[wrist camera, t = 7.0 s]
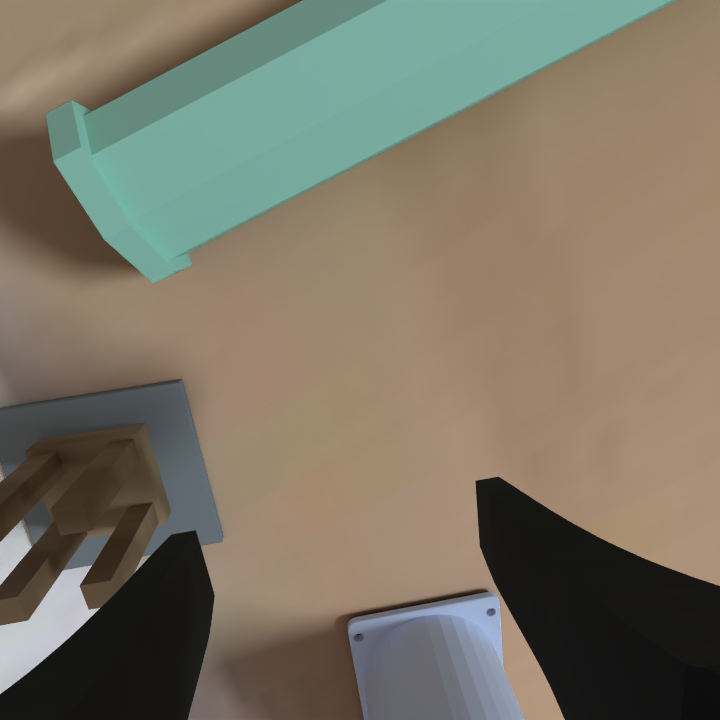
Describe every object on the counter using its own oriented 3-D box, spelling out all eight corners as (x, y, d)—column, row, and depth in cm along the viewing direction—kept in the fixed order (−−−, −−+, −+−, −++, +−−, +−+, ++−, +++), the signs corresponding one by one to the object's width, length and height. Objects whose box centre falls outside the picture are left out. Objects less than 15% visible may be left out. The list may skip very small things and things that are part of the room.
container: (977, -371, 11) (17, 137, 11) (884, -50, 15) (169, 316, 15) (745, -263, 15) (65, 96, 16) (720, -40, 19) (173, 243, 20)
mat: (223, 536, 22) (222, 541, 22) (51, 566, 22) (46, 573, 22) (181, 379, 20) (179, 382, 20) (-13, 410, 20) (-20, 414, 19)
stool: (171, 511, 21) (126, 607, 16) (71, 528, 21) (-7, 631, 16) (145, 423, 20) (87, 497, 15) (38, 440, 20) (-60, 521, 15)
